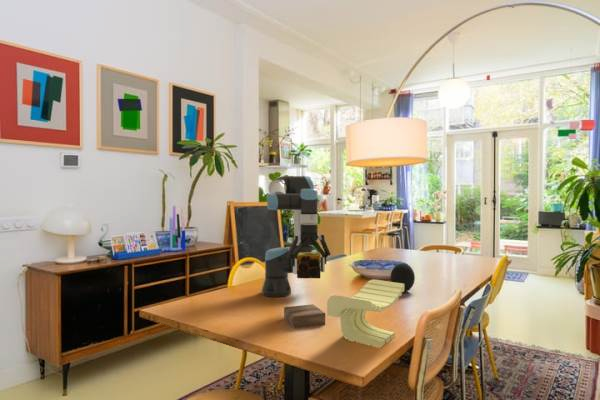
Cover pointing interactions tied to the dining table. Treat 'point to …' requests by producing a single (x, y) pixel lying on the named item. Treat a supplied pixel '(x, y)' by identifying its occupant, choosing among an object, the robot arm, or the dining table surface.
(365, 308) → the slatted curved stool
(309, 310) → the walnut block
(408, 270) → the decorative egg
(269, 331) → the dining table surface
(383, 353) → the dining table surface
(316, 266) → the candle
